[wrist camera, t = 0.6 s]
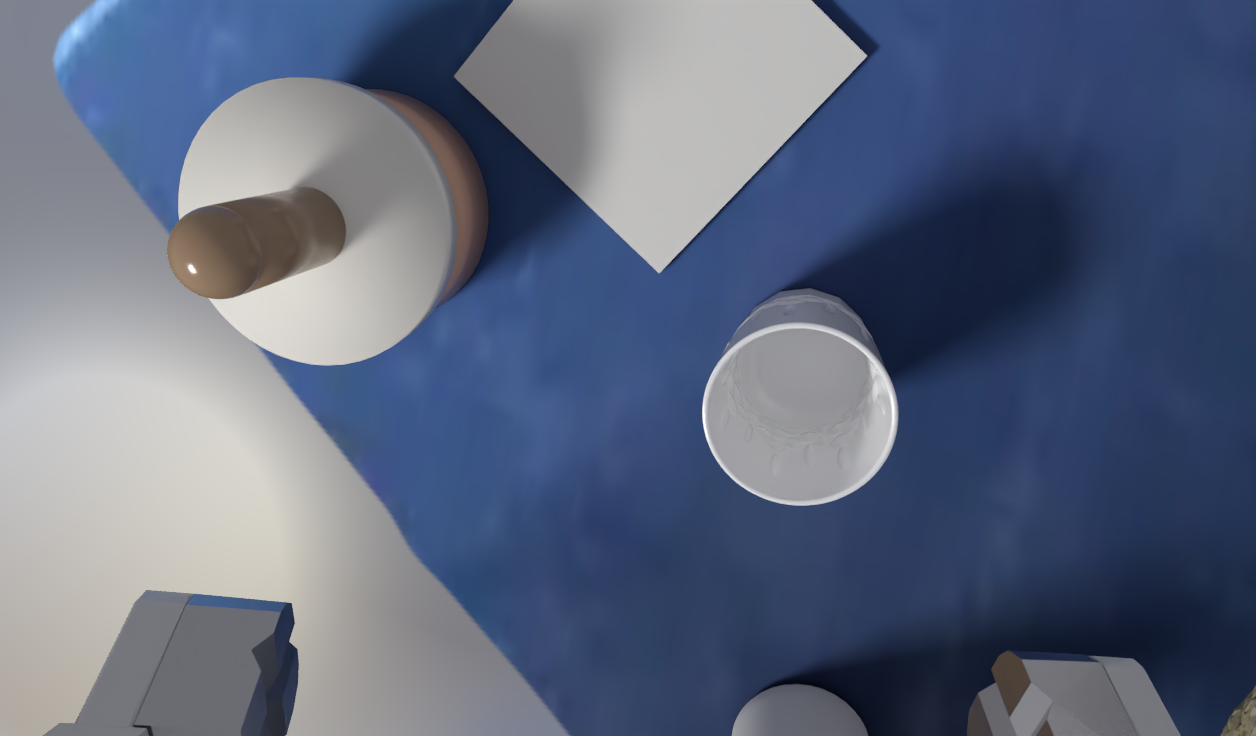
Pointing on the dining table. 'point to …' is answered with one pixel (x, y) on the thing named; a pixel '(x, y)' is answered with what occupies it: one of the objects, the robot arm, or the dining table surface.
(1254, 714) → the cantaloupe
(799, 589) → the dining table surface
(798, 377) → the white cup
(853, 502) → the dining table surface
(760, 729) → the milk bottle
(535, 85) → the mat
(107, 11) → the dining table surface
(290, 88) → the lid
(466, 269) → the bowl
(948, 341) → the dining table surface
